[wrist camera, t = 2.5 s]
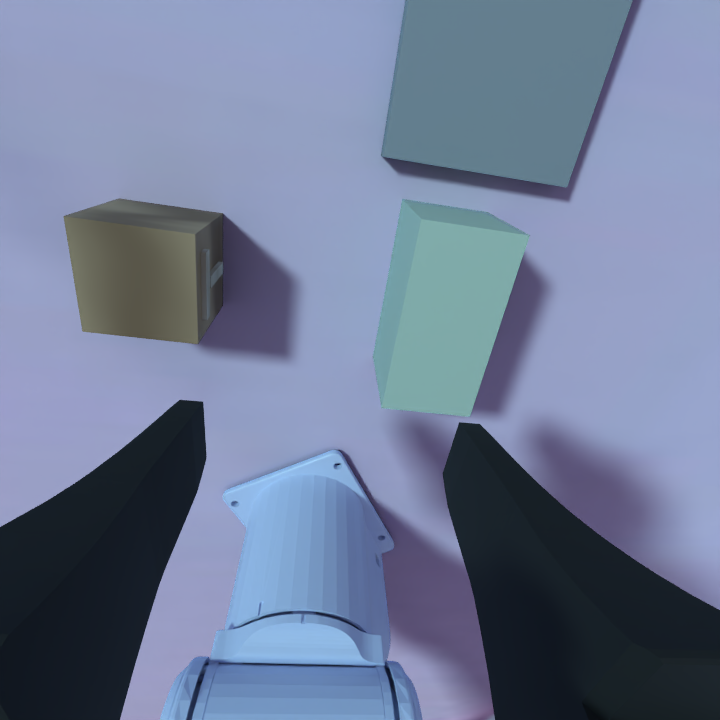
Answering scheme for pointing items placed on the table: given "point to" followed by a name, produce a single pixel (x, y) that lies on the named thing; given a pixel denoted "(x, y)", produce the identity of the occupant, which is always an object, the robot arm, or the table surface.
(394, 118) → the rubber mat
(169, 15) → the table surface
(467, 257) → the tall sage green block
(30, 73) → the table surface
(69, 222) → the plain olive brown cube
